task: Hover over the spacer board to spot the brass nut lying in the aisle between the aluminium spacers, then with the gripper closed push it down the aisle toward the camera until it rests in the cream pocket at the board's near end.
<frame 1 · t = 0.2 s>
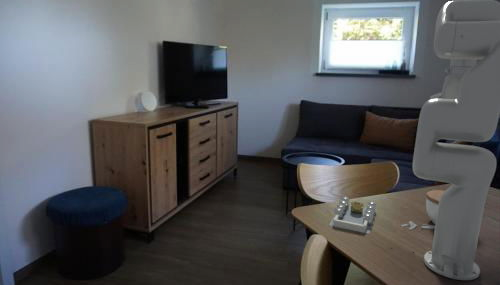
hand: (454, 122, 126), 31 cm above the table, fingers open, 9 cm apart
board: (353, 220, 119), on the table
spacers: (355, 210, 120), point 2 cm above the table
pliers: (417, 226, 116), on the table, touching lidded bowl
lidded bowl: (444, 223, 118), on the table, touching pliers
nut: (356, 211, 123), point 1 cm above the table, touching board
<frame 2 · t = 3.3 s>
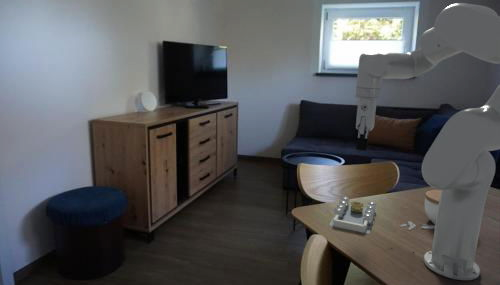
hand: (361, 149, 119), 23 cm above the table, fingers closed
nothing on the table moved.
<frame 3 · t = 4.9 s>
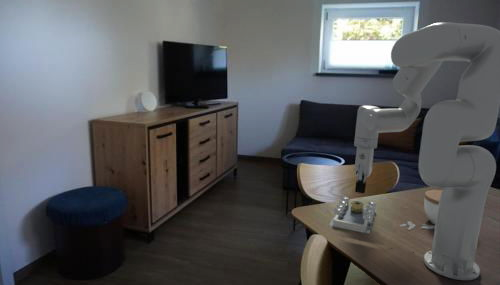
hand: (359, 191, 129), 6 cm above the table, fingers closed
pliers: (415, 227, 116), on the table
lidded bowl: (442, 223, 119), on the table
everything else where it was.
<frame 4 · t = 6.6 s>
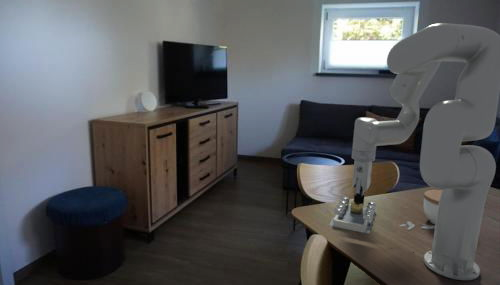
hand: (358, 205, 126), 2 cm above the table, fingers closed
pliers: (415, 227, 116), on the table, touching lidded bowl
lidded bowl: (441, 223, 119), on the table, touching pliers
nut: (356, 212, 123), point 1 cm above the table, touching gripper
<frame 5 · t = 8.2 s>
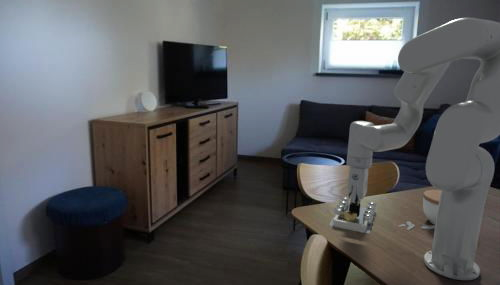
hand: (353, 215, 118), 2 cm above the table, fingers closed
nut: (349, 221, 115), point 1 cm above the table, touching gripper
everything else where it was.
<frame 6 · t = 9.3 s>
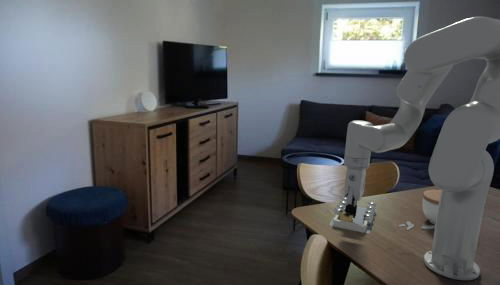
hand: (350, 216, 116), 2 cm above the table, fingers closed
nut: (346, 223, 113), point 1 cm above the table, tilted 8°, touching board, gripper
everything else where it was.
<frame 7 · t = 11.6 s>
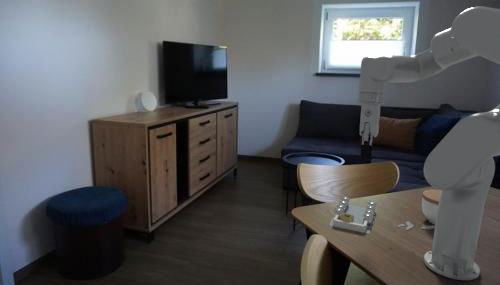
hand: (365, 156, 114), 21 cm above the table, fingers closed
pliers: (414, 227, 116), on the table
lidded bowl: (439, 222, 119), on the table
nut: (346, 224, 113), point 1 cm above the table, touching board
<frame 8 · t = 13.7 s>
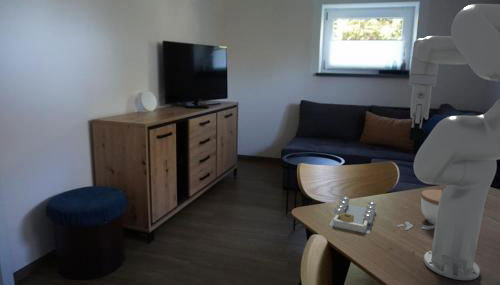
hand: (414, 140, 114), 27 cm above the table, fingers closed
nothing on the table moved.
at the end: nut 1.2 cm from the target spot on the board, point 1.0 cm above the board's base; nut moved 11.9 cm from its start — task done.
